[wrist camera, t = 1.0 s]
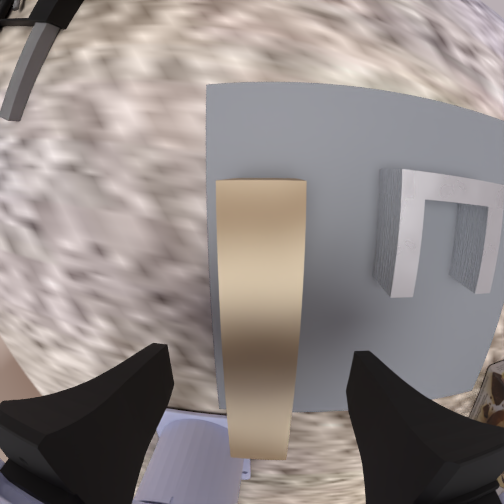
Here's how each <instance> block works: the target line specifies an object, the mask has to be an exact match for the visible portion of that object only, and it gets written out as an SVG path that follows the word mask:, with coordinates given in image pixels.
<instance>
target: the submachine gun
mask: <svg viewBox="0 0 504 504" xmlns="http://www.w3.org/2000/svg"><path fill="white" fill-rule="evenodd" d="M83 1H84V0H38V2H37V3H36V5H35V7H34V9H33V10H32V12H31V14H30V16H29V18H13V19H4V18H5V16H6V15H7V13H8V11H9V9H10V7H11V5H12V3H13V2H14V5H13V11H16V10H18V9H19V5H20V0H15V1H14V0H0V27H1V26H34V27H33V29H32V31H31V33H30V35H29V37H28V39H27V41H26V44H25V46H24V48H23V50H22V53H21V55H20V57H19V60H18V62H17V65H16V67H15V70H14V72H13V75H12V77H11V80H10V83H9V86H8V89H7V92H6V95H5V98H4V101H3V104H2V107H1V111H0V117H1V118H3V119H6V120H8V121H20V120H21V117H22V114H23V111H24V108H25V105H26V103H27V100H28V98H29V95H30V93H31V90H32V88H33V85H34V83H35V81H36V78H37V76H38V74H39V72H40V69H41V67H42V65H43V63H44V60H45V58H46V56H47V54H48V51H49V49H50V47H51V45H52V43H53V41H54V39H55V37H56V35H57V33H58V31H59V29H66V28H67V26H68V25H69V23H70V21H71V20H72V18H73V16H74V15H75V13H76V12H77V10H78V9H79V7H80V5H81V4H82V2H83Z"/></svg>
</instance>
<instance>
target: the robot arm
mask: <svg viewBox="0 0 504 504" xmlns="http://www.w3.org/2000/svg"><path fill="white" fill-rule="evenodd" d="M173 387H174V380H173V375H172V369H171V364H170V358H169V352H168V346H167V345H166V344H157V343H152V344H151V345H149V346H147V347H146V348H144V349H142V350H141V351H139V352H138V353H136V354H135V355H133V356H132V357H130V358H128V359H127V360H125V361H124V362H122V363H120V364H119V365H117V366H116V367H114V368H112V369H110V370H108V371H107V372H105V373H103V374H101V375H99V376H98V377H96V378H94V379H91V380H89V381H87V382H85V383H82V384H80V385H78V386H75V387H73V388H69V389H66V390H63V391H60V392H57V393H54V394H50V395H45V396H41V397H35V398H30V399H21V400H9V401H2V402H1V403H0V448H1V449H2V451H3V452H4V453H5V455H6V456H7V457H8V458H9V459H8V460H7V462H6V463H4V462H3V461H2V460H1V459H0V504H238V498H239V491H240V484H241V479H245V480H247V479H250V477H251V461H250V459H245V458H232V457H231V456H230V446H229V435H228V423H227V416H225V415H214V414H205V413H197V412H189V411H182V410H175V409H169V408H167V406H168V403H169V400H170V397H171V394H172V390H173ZM346 396H347V404H348V411H349V415H350V419H351V422H352V426H353V430H354V433H355V437H356V441H357V444H358V448H359V452H360V455H361V460H362V466H363V474H364V483H365V495H366V504H504V492H503V493H501V494H500V495H499V496H498V494H497V492H496V490H497V489H498V488H499V486H500V484H499V482H498V480H497V478H498V477H499V476H500V475H501V474H502V473H503V471H504V427H500V426H495V425H491V424H486V423H483V422H479V421H476V420H473V419H470V418H468V417H465V416H462V415H460V414H458V413H455V412H453V411H451V410H449V409H447V408H445V407H443V406H441V405H439V404H437V403H436V402H434V401H432V400H431V399H429V398H427V397H426V396H424V395H423V394H421V393H420V392H418V391H417V390H416V389H414V388H413V387H412V386H410V385H409V384H408V383H406V382H405V381H404V380H403V379H401V378H400V377H399V376H398V375H397V374H395V373H394V372H393V371H392V370H391V369H390V368H389V367H387V366H386V365H385V364H384V363H383V362H382V361H381V360H380V359H379V358H377V357H376V356H375V355H374V354H373V353H372V352H370V351H369V350H367V351H354V355H353V360H352V365H351V370H350V374H349V379H348V383H347V388H346ZM156 430H157V434H158V437H159V440H158V443H157V445H156V448H155V450H154V452H153V455H152V457H151V459H150V462H149V464H148V466H147V469H146V471H145V474H144V476H143V478H142V481H141V483H140V485H139V488H138V490H137V493H136V495H135V497H134V499H133V496H134V492H135V488H136V484H137V480H138V477H139V473H140V469H141V466H142V463H143V460H144V457H145V454H146V451H147V449H148V446H149V444H150V442H151V440H152V437H153V435H154V433H155V431H156Z"/></svg>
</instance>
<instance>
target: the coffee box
mask: <svg viewBox="0 0 504 504" xmlns="http://www.w3.org/2000/svg"><path fill="white" fill-rule="evenodd" d="M469 418H470V419H473V420H476V421H479V422H483V423H486V424H491V425H495V426H500V427H504V360H503V361H501V362H498V363H495V364H493V365H491V366H490V367H489V368H488V371H487V374H486V377H485V379H484V382H483V385H482V388H481V390H480V393H479V395H478V398H477V400H476V403H475V405H474V408H473V410H472V412H471V414H470V417H469ZM497 480H498V482H499V484H500V486H499V488H498V489H497V490H496V492H497V494H498V496H499V495H500V494H501V493H503V492H504V471H503V473H502V474H501V475H500V476H499V477H498V478H497Z"/></svg>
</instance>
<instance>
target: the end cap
mask: <svg viewBox="0 0 504 504" xmlns="http://www.w3.org/2000/svg"><path fill="white" fill-rule="evenodd" d="M425 199H426V200H436V201H446V202H455V203H458V208H457V220H456V229H455V238H454V246H453V253H452V259H451V265H450V271H449V276H450V277H452V278H453V279H455V280H456V281H457V282H459V283H460V284H462V285H463V286H464V287H466V288H467V289H469V290H470V291H471V292H473V293H474V294H484V293H490V291H491V286H492V282H493V277H494V272H495V267H496V262H497V256H498V250H499V244H500V237H501V229H502V220H503V209H504V185H501V184H497V183H492V182H486V181H481V180H476V179H470V178H464V177H458V176H452V175H445V174H438V173H431V172H423V171H415V170H407V169H379V200H378V218H377V232H376V244H375V254H374V263H373V272H372V277H373V278H374V279H375V280H376V281H377V282H378V284H379V285H380V286H381V287H382V288H383V290H384V291H385V292H386V293H387V294H388V296H389V297H390V298H402V297H413V294H414V288H415V282H416V276H417V270H418V263H419V256H420V248H421V240H422V230H423V220H424V207H425Z"/></svg>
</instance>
